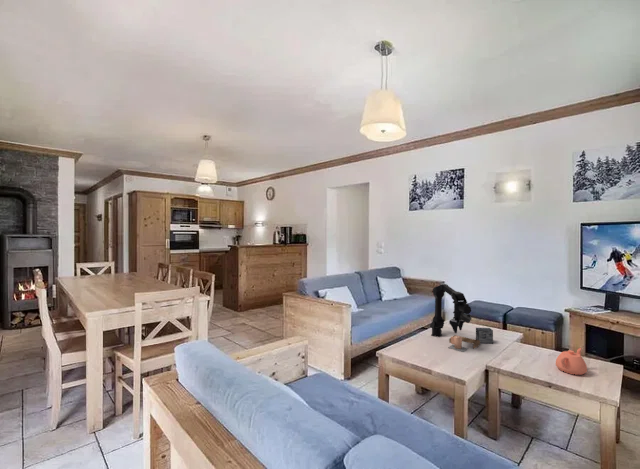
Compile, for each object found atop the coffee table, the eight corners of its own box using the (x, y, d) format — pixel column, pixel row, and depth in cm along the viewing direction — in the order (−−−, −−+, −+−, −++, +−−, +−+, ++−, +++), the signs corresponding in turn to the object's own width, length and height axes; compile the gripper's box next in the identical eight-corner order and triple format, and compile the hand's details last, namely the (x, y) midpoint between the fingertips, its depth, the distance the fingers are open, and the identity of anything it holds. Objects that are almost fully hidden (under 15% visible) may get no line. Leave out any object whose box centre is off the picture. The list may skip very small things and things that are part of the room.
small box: (489, 341, 247) (489, 327, 247) (493, 344, 240) (493, 330, 240) (475, 340, 248) (475, 327, 248) (478, 343, 241) (478, 329, 241)
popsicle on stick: (460, 349, 228) (460, 338, 228) (449, 347, 233) (449, 336, 233) (462, 347, 232) (462, 336, 232) (452, 345, 237) (452, 334, 237)
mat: (448, 348, 232) (448, 347, 232) (452, 344, 239) (452, 344, 239) (463, 352, 225) (463, 351, 225) (468, 348, 231) (468, 348, 231)
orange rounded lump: (566, 362, 207) (567, 343, 207) (595, 371, 194) (595, 351, 194) (548, 369, 197) (548, 349, 197) (576, 379, 184) (577, 358, 184)
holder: (449, 342, 243) (449, 338, 243) (454, 338, 252) (454, 335, 251) (474, 348, 231) (474, 344, 231) (479, 344, 239) (479, 340, 239)
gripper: (465, 315, 219) (465, 337, 220) (474, 309, 233) (474, 331, 233) (449, 312, 227) (448, 333, 227) (458, 307, 241) (458, 327, 241)
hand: (458, 331), depth 232 cm, fingers open, 9 cm apart
